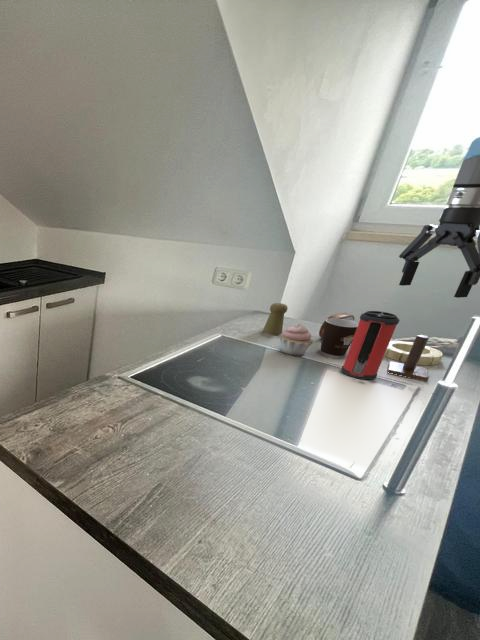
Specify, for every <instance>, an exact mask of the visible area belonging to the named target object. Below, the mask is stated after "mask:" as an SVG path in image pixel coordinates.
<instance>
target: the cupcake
mask: <svg viewBox="0 0 480 640" xmlns="http://www.w3.org/2000/svg"><path fill="white" fill-rule="evenodd" d="M278 339H279V341H280V351H281V352H282V353H284V354H286V355H290V356H303V355H305V354H306V352H307V350H308V349H309V347H310V346H312V344H313V343H314V339H312V333H311V332H310V330H309V329H308V328H307V326H306V325H305V324H302V323H301V322H299V323H298V324H297V325H291V326H289V327H288V328H286V329H284V330H282V335H278Z"/></svg>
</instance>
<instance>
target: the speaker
mask: <svg viewBox="0 0 480 640" xmlns="http://www.w3.org/2000/svg"><path fill="white" fill-rule="evenodd" d="M358 323H359V324H358V327H357V329H356V332H355V335H354V338H353V340H352V343H351V345H350V347H349V348H348V350H347V353H346V357H345V359H344V362H343V365H342V366H341V368H340V371H341V372H342V373H343V374H344V375H346V376H348V377H353V378H355V379H358V380H369V381H370V380H374V379H376V378H377V377H378V372H379V369H380V367H381V364H382V361H383V360H384V357H385V356H384V355H385V352H386V350H387V347H388V345H389V342H390V341H392V337H393V335H394V333H395V330H396V327H397V325H398V324H399V323H400V319H399V317H398V316H397V315H395V314H393V313H390V312H386V311H381V310H380V311H379V310H367V311H366V312H363V313H361V314H360V316H359V321H358Z"/></svg>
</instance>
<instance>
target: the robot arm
mask: <svg viewBox="0 0 480 640" xmlns="http://www.w3.org/2000/svg"><path fill="white" fill-rule="evenodd" d="M446 200H447V201H446V202H445V205H446V207H444V208H443V209H442V211H441V215H440V216H439V219H438V222H439V224H438V225H437V224H425V225H424V226H423V227H422V229H421V231H420V232H419V234H418V235H417V236H416V237H414V239H413V240H412V241H411V242H410V243H409V244H408V245H407V247H406V248H405V249H403V250H402V251H401V253H400V254H399V256H398V257H399V258H400V259H403V260H404V264H403V267H402V269H401V273H402V276H401V279H400V281H399V283H398V286H401V287H403V286H411V284H412V282H413V280H414V277H415V275H416V272H417V270H418V268H419V265H420V259H421V258H423V257H424V256H425V255H427V254H429V253H430V252H431V251H433V250H435V249H436V248H437V247H438V246H441V245H442V246H451V247H457V248H458V249H459V250H460V251H461V253H462V255H463V258H464V260H465V262H466V264H467V266H468V268H469V270H465V271H464V272H463V273H464V274H463V275H462V278H461V280H460V282H459V285H458V287H457V288H456V290H455V293H454V295H453V298H457V299H458V298H468V296H469V294H470V292H471V289H472V287H473V286H477V284H478V283H479V281H480V136H478V137H476V138H475V139H474V140H473V141H471V143H470V145H469V148H468V149H467V151H466V153H465V155H464V157H463V158H462V162H461V165H460V167H459V170H458V173H457V175H456V178H455V181H454V182H453V185H452V188H451V191H450V193H449V195H448V197H447V199H446ZM433 234H435V236H433ZM432 236H433V237H432ZM430 238H431V239H430ZM474 238H477V241H475V239H474ZM476 242H477V243H476ZM476 245H477V247H476Z"/></svg>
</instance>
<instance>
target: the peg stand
mask: <svg viewBox="0 0 480 640" xmlns="http://www.w3.org/2000/svg"><path fill="white" fill-rule="evenodd" d="M429 339H430V336H428V335H424V334H417V335H416V336H415V338H414V341H413V342H412V343H413V345H412V348H411V350H410V352H409V355H408V357H407V359H406V361H405V362H404V363H403V362H398V361H392V360H390V361H389V363H388V365H389V366H388V365H387V372H389V373H393V374H392V375H394V374H397V375H396V376H398V377H400V376H399V375H402V376H401V377H403V376H406V377H405V378H407V379H412V380H416V381H422V380H423V381H422V382H426V383H427V382H428V380H429V375H430V374H429V368H427V367H423V366H418V365H417V363H418V361H419V359H420V357H421V355H422V352H423V350H424V348H425V346H427V343H428V342H429ZM389 373H387V374H388V375H390V374H389ZM394 376H395V375H394ZM408 377H410V378H408ZM403 378H404V377H403ZM413 378H414V379H413Z"/></svg>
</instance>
